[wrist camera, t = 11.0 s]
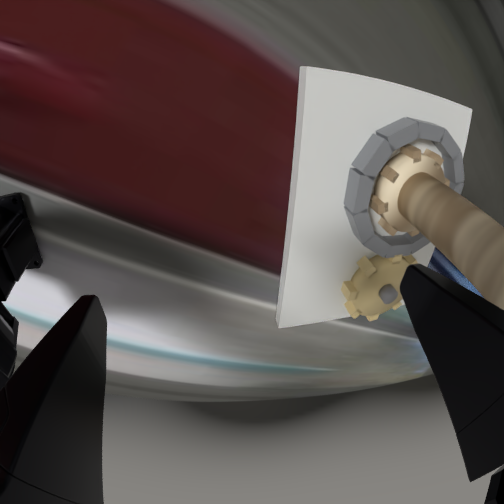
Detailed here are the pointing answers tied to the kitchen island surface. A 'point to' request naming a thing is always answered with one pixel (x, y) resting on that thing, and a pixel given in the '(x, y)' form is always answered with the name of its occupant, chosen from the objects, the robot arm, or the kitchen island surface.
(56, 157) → the kitchen island surface
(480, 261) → the disc
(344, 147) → the gear board
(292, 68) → the kitchen island surface
